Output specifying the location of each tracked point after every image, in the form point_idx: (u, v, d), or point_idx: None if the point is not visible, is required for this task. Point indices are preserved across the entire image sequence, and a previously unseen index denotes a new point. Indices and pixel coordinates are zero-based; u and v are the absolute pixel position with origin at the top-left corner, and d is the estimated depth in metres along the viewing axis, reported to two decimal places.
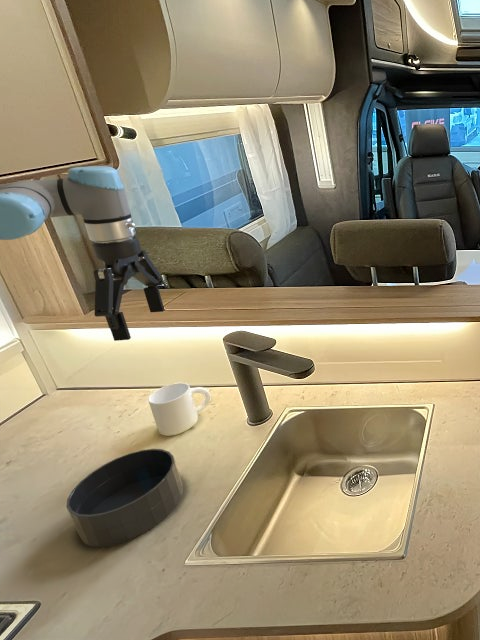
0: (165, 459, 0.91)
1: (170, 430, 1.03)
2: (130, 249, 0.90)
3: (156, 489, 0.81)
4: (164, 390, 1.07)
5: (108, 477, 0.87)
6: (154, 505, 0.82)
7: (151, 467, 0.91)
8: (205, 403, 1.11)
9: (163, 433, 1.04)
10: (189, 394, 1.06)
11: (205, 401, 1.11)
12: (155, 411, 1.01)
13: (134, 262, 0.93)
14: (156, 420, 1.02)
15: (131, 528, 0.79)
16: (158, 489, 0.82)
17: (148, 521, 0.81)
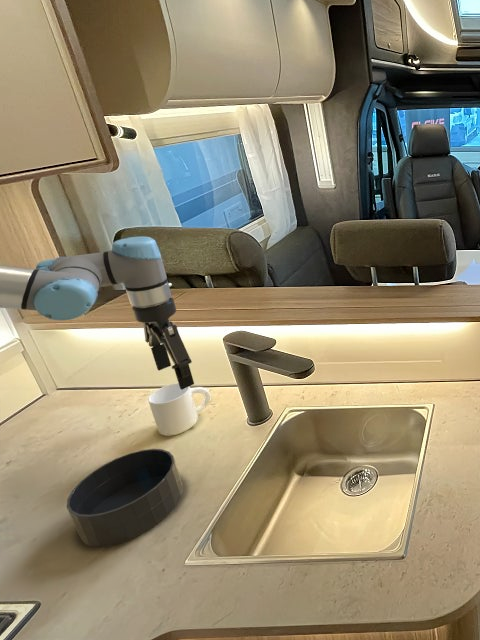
0: (165, 459, 0.91)
1: (170, 430, 1.03)
2: (174, 306, 1.00)
3: (156, 489, 0.81)
4: (164, 390, 1.07)
5: (108, 477, 0.87)
6: (154, 505, 0.82)
7: (151, 467, 0.91)
8: (205, 403, 1.11)
9: (163, 433, 1.04)
10: (189, 394, 1.06)
11: (205, 401, 1.11)
12: (155, 411, 1.01)
13: None
14: (156, 420, 1.02)
15: (131, 528, 0.79)
16: (158, 489, 0.82)
17: (148, 521, 0.81)
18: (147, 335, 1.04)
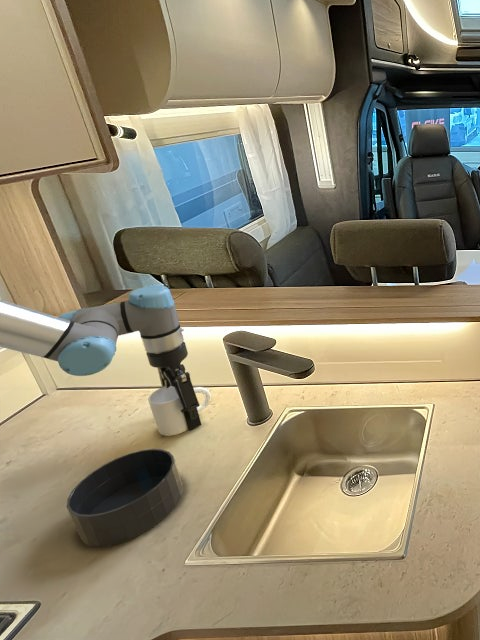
0: (165, 459, 0.91)
1: (170, 430, 1.03)
2: (186, 349, 1.04)
3: (156, 489, 0.81)
4: (164, 390, 1.07)
5: (108, 477, 0.87)
6: (154, 505, 0.82)
7: (151, 467, 0.91)
8: (205, 403, 1.11)
9: (163, 433, 1.04)
10: None
11: (205, 401, 1.11)
12: (155, 411, 1.01)
13: None
14: (156, 420, 1.02)
15: (131, 528, 0.79)
16: (158, 489, 0.82)
17: (148, 521, 0.81)
18: (163, 381, 1.08)
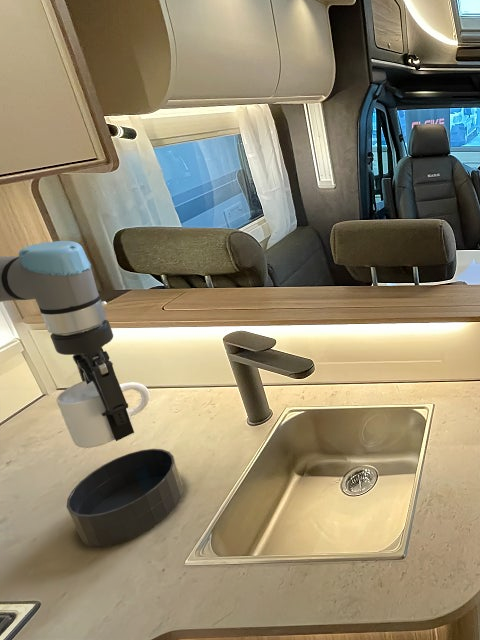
0: (165, 459, 0.91)
1: (88, 440, 0.76)
2: (110, 331, 0.77)
3: (156, 489, 0.81)
4: (84, 387, 0.80)
5: (108, 477, 0.87)
6: (154, 505, 0.82)
7: (151, 467, 0.91)
8: (142, 404, 0.84)
9: (79, 444, 0.76)
10: None
11: (142, 401, 0.84)
12: (66, 415, 0.74)
13: (100, 348, 0.78)
14: (68, 427, 0.75)
15: (131, 528, 0.79)
16: (158, 489, 0.82)
17: (148, 521, 0.81)
18: (82, 375, 0.81)
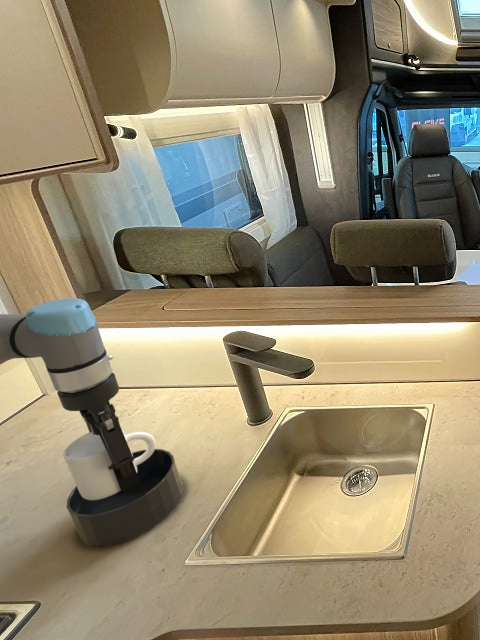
0: (165, 459, 0.91)
1: (95, 493, 0.77)
2: (116, 384, 0.77)
3: (156, 489, 0.81)
4: (90, 438, 0.80)
5: None
6: (154, 505, 0.82)
7: (151, 467, 0.91)
8: (148, 452, 0.84)
9: (86, 497, 0.77)
10: None
11: (148, 449, 0.84)
12: (72, 469, 0.75)
13: None
14: (75, 480, 0.76)
15: (131, 528, 0.79)
16: (158, 489, 0.82)
17: (148, 521, 0.81)
18: (89, 425, 0.81)
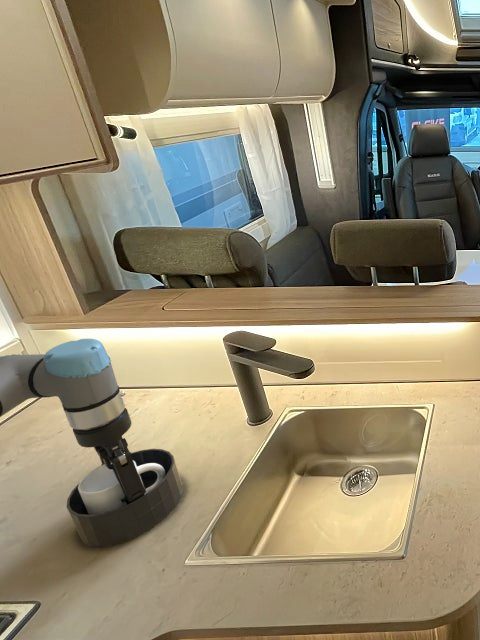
0: (165, 459, 0.91)
1: None
2: (129, 419, 0.80)
3: (156, 489, 0.81)
4: (103, 470, 0.83)
5: None
6: (154, 505, 0.82)
7: None
8: (158, 482, 0.87)
9: None
10: None
11: (158, 480, 0.87)
12: (87, 502, 0.77)
13: None
14: (89, 513, 0.79)
15: (131, 528, 0.79)
16: (158, 489, 0.82)
17: (148, 521, 0.81)
18: (102, 457, 0.84)
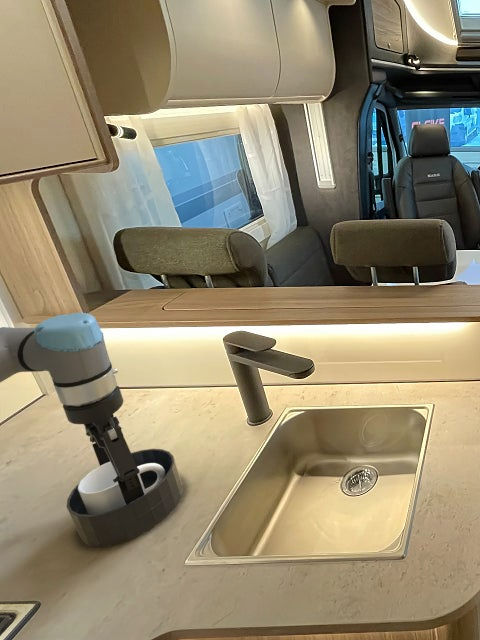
0: (165, 459, 0.91)
1: None
2: (121, 397, 0.78)
3: (156, 489, 0.81)
4: (103, 470, 0.83)
5: None
6: (154, 505, 0.82)
7: None
8: (158, 482, 0.87)
9: None
10: None
11: (158, 480, 0.87)
12: (87, 502, 0.77)
13: None
14: (89, 513, 0.79)
15: (131, 528, 0.79)
16: (158, 489, 0.82)
17: (148, 521, 0.81)
18: None
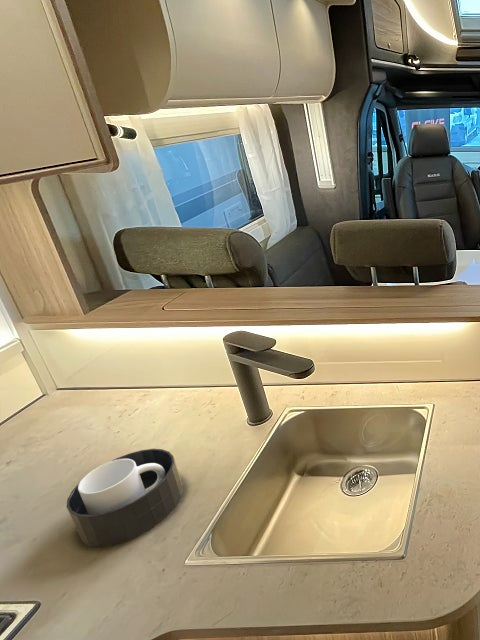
0: (165, 459, 0.91)
1: None
2: None
3: (156, 489, 0.81)
4: (103, 470, 0.83)
5: None
6: (154, 505, 0.82)
7: None
8: (158, 482, 0.87)
9: None
10: (135, 475, 0.82)
11: (158, 480, 0.87)
12: (87, 502, 0.77)
13: None
14: (89, 513, 0.79)
15: (131, 528, 0.79)
16: (158, 489, 0.82)
17: (148, 521, 0.81)
18: None
